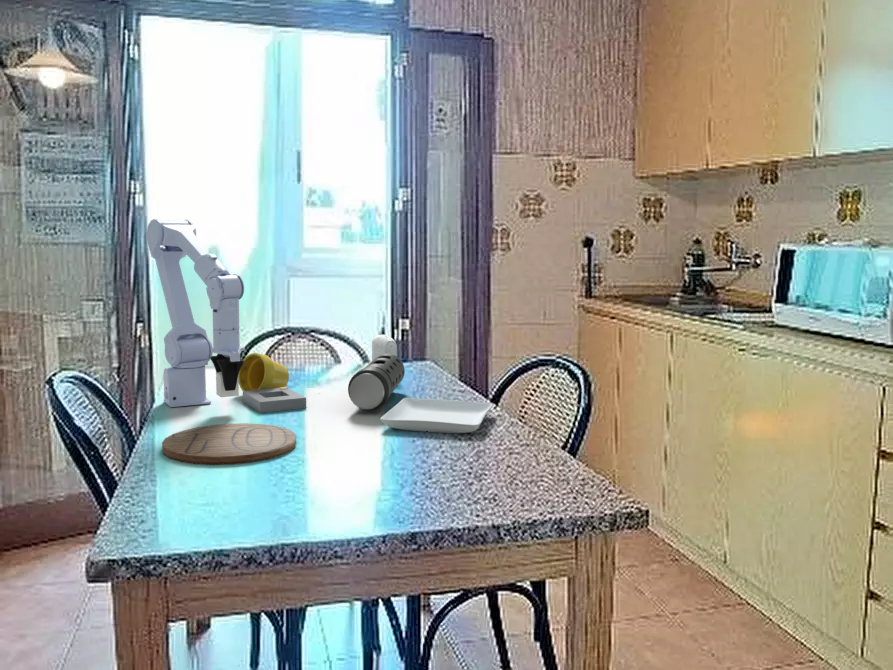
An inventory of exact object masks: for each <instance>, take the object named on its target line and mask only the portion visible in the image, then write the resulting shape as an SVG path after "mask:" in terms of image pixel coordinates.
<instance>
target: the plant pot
mask: <svg viewBox="0 0 893 670" xmlns="http://www.w3.org/2000/svg"><path fill="white" fill-rule="evenodd" d="M243 360H244V363H243V365H242V367H241V369H240V372H239V375H238V378H239V388H240V389H241V392H243V391H249V390H261V389H272V388H281V387H287V385H288V383H289V379H290V374H289V371H288V368H287V367H286V366H285V365H283V364H281V363H278V362H277V361H274V360H272V358H271V357H269V356H268V355H267V354H262V353H257V352H251V353H249V354H247V355H246V356H245V357H244V358H243Z"/></svg>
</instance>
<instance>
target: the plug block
mask: <svg viewBox="0 0 893 670" xmlns="http://www.w3.org/2000/svg"><path fill="white" fill-rule="evenodd" d="M215 383H216V384H215V385H216V386H215V388H216V391H215V393H216V395H217V396H218V397H220V398H229V397H230V398H231V397H238V396H240V395H239V394H240V392H239V391H240V389H239V388H240V386H239V378H238V379H237V384H236V388H235V390H231V391H225V388H224V383H223V377H222V372H216V371H215Z"/></svg>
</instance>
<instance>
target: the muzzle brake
mask: <svg viewBox="0 0 893 670" xmlns="http://www.w3.org/2000/svg"><path fill="white" fill-rule="evenodd" d="M381 364H383V365H381ZM405 372H406V371H405V365H404V363H403V361H402V360H401V358H399V357H398V355H397V356H395V355H392V354H382V355H380V356H378V357H377V358H375V359H374V360H373V361H372V360H371V361H370V363H368V364H367V365H366V366H365V367H363V368H362V369H359V370H358V371H357V372H356V373H354V374H353V376H352V377H351V378H350V380H349V382H348V384H347V385H348V386H347V392H348V396H349V399H350V401H351V402H352V403H353V404H354V406H356V407H357V408H358V409H360V410H365V411H374V410H377V409H379V408H381V407H382V406H384V405H385V403H386V402H387V401H388V400H389V399H390V397H391V394H392V393H393V392H394V390H395V389H397V387H398V386H399V385H400V384H401V382H402V381H403V379H404V377H405V374H406V373H405Z"/></svg>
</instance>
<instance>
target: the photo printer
mask: <svg viewBox="0 0 893 670" xmlns="http://www.w3.org/2000/svg"><path fill="white" fill-rule="evenodd" d="M371 341H372V342H371V362H372V361H373V360H374V359H375V358H377V357H378V356H380V355H382V354H392V355H395V356H397V357H398V345H397V343H396V341H395V340H394V338H393V337H391V336H389V335H387V334H378V335H375V336H374V337H373V338H372V340H371ZM381 365H383V364H381Z"/></svg>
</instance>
